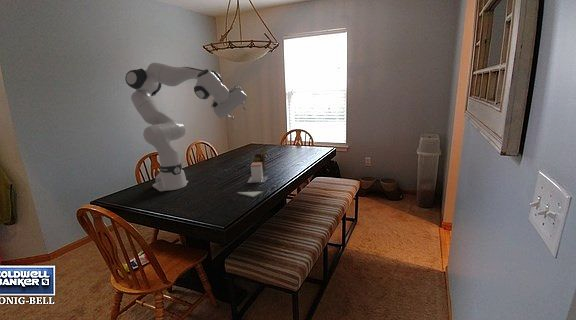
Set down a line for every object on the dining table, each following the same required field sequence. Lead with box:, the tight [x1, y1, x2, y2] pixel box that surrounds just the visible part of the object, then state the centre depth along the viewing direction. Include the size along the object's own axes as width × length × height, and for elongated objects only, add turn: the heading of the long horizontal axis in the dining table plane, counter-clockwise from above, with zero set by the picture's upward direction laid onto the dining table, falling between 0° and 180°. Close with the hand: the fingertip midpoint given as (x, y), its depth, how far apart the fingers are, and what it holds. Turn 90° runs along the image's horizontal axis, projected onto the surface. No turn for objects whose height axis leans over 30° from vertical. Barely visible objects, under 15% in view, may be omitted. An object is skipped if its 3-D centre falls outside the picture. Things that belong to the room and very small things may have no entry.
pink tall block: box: [250, 162, 264, 181], centre depth 172 cm, size 6×6×10 cm
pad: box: [236, 190, 267, 198], centre depth 156 cm, size 12×12×1 cm
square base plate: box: [246, 175, 268, 184], centre depth 173 cm, size 11×11×6 cm
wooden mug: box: [253, 146, 268, 171], centre depth 193 cm, size 9×14×18 cm, turn 39°
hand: (239, 114), depth 162 cm, fingers open, 8 cm apart
